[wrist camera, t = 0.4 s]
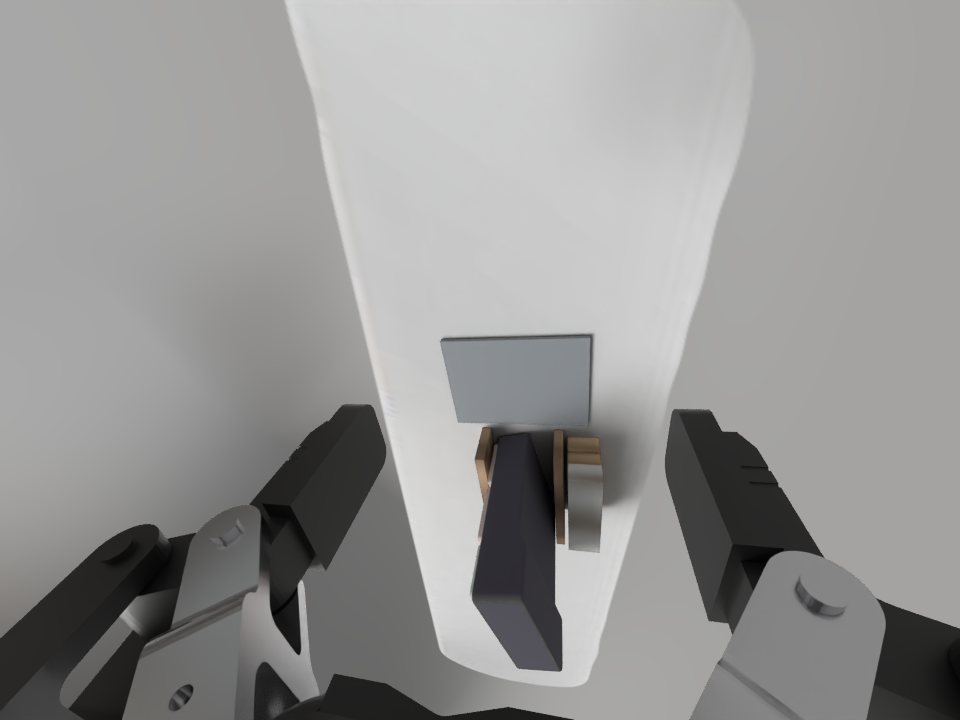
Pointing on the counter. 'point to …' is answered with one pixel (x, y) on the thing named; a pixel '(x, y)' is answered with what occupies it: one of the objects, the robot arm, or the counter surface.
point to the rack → (485, 459)
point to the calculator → (519, 558)
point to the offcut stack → (584, 494)
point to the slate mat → (519, 379)
